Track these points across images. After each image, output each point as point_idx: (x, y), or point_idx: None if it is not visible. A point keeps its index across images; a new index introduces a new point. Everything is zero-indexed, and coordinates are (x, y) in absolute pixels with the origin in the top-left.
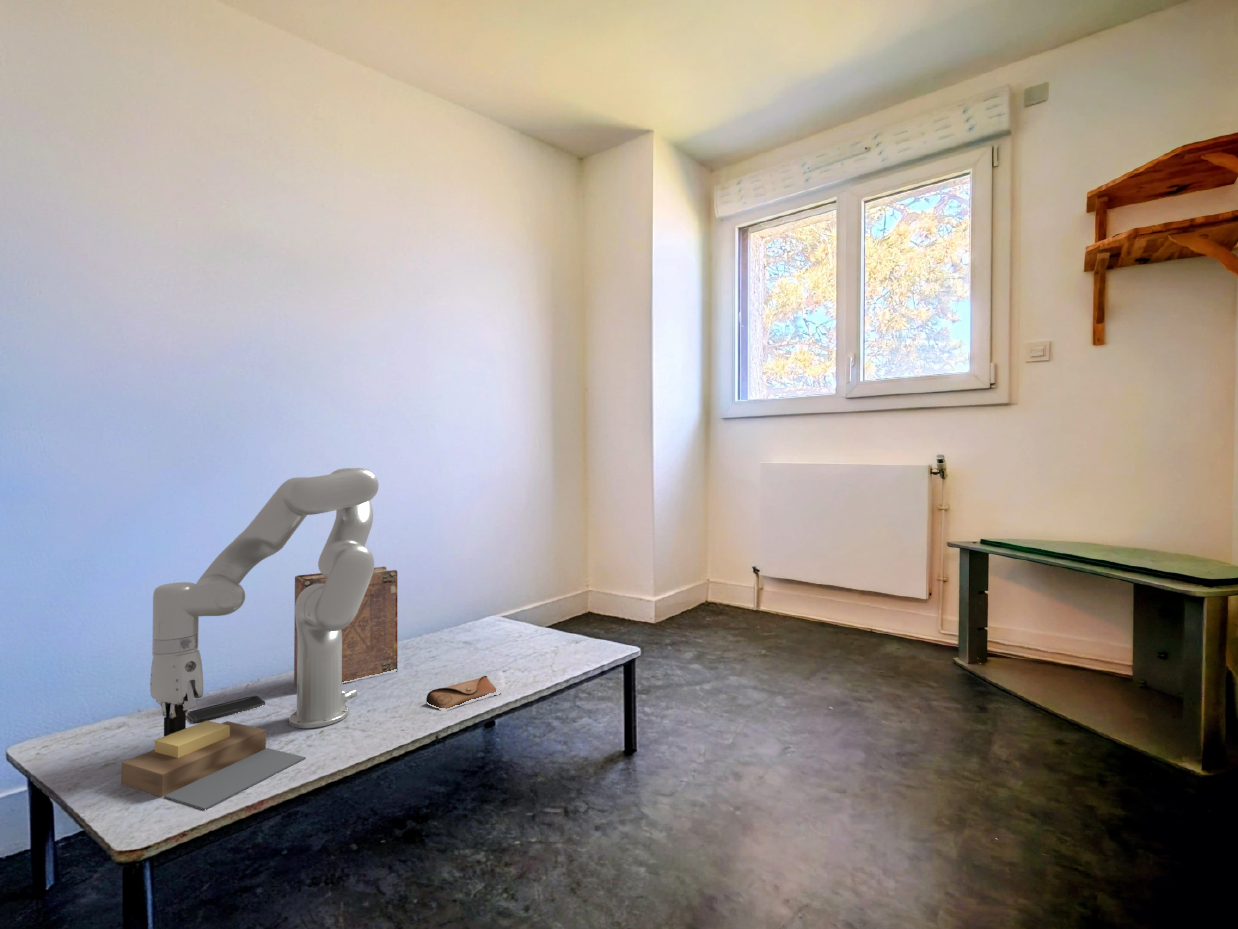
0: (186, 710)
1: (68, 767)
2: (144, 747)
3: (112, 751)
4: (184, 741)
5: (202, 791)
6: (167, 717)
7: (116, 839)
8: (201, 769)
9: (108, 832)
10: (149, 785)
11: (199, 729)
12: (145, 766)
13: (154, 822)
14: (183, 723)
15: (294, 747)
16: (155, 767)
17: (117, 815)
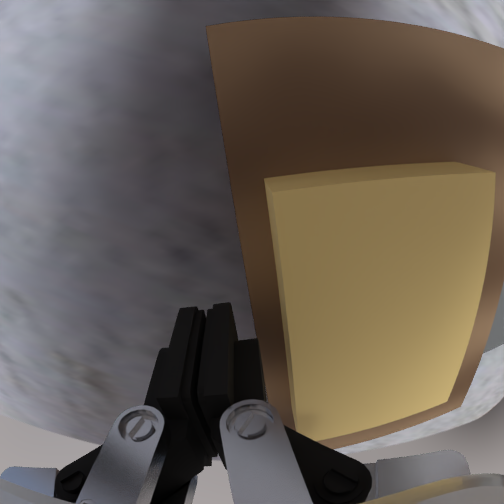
0: (320, 447)
1: (57, 411)
2: (29, 287)
3: (12, 339)
4: (438, 382)
5: (501, 314)
6: (206, 459)
7: (462, 420)
8: None
9: (438, 428)
10: None
11: (390, 301)
12: (380, 432)
13: (482, 386)
14: (260, 364)
15: (498, 29)
16: (413, 416)
17: None
